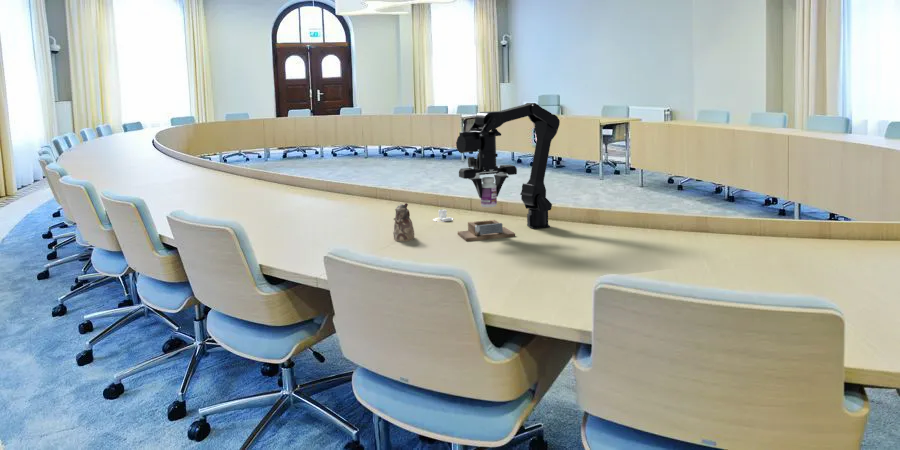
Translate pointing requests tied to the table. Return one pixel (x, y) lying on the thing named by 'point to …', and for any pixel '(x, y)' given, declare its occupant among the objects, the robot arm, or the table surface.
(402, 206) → the figurine
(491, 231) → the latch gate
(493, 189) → the pill bottle
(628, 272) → the table surface
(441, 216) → the teacup and saucer
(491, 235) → the cradle board
